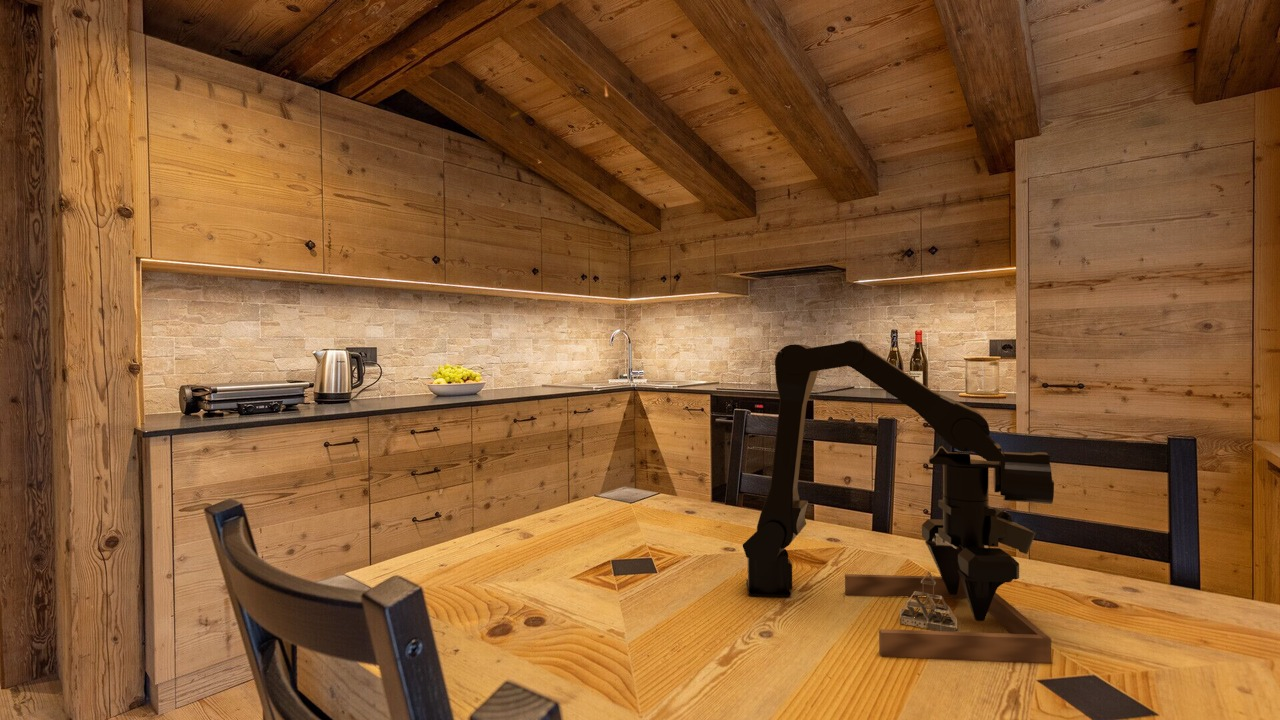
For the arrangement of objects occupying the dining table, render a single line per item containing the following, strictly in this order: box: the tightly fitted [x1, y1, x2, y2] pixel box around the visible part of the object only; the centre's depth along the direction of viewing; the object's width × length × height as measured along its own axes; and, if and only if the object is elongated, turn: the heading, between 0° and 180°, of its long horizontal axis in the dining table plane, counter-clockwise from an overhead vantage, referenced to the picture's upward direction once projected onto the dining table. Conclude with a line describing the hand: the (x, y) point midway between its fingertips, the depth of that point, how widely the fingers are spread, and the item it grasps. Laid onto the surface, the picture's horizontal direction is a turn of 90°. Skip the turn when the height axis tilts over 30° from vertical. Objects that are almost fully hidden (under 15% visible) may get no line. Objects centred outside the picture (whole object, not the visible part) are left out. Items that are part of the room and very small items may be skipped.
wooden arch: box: [844, 573, 1052, 664], centre depth 88 cm, size 20×21×3 cm
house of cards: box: [899, 570, 958, 632], centre depth 89 cm, size 9×9×8 cm
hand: (965, 606), depth 89 cm, fingers open, 9 cm apart
